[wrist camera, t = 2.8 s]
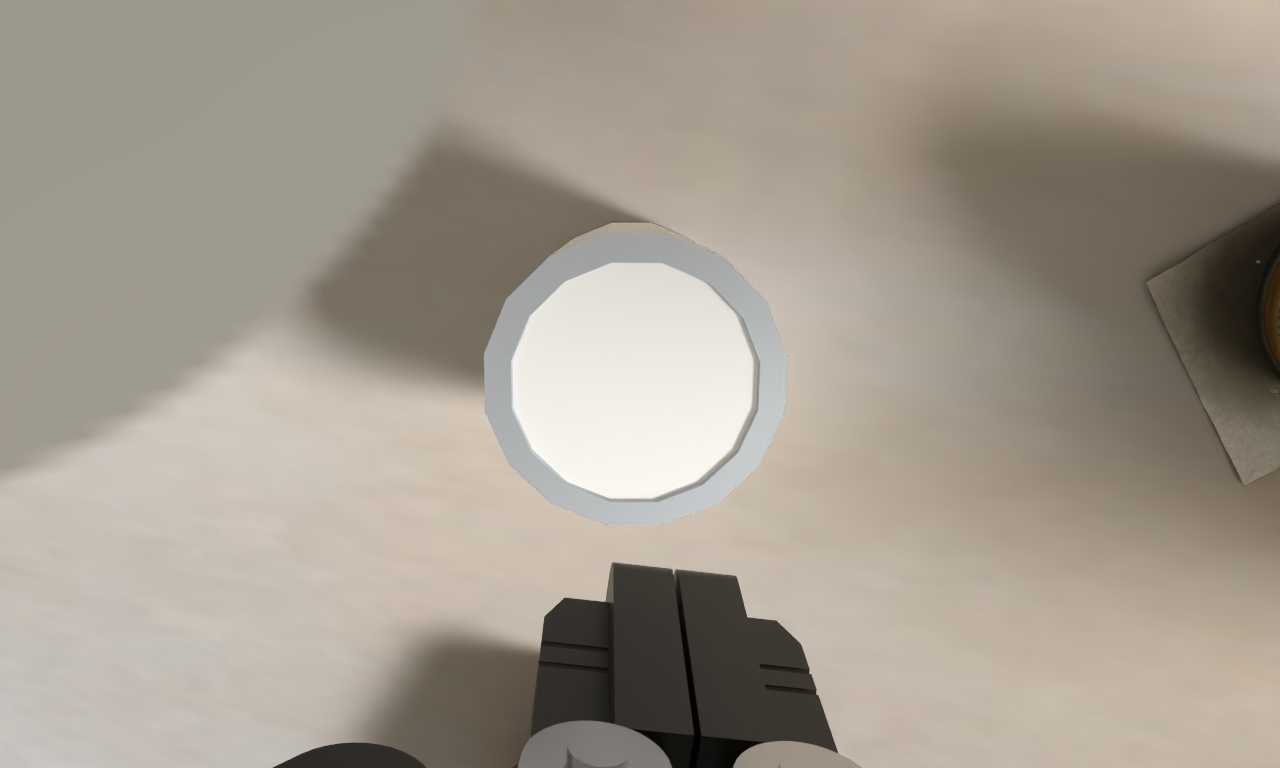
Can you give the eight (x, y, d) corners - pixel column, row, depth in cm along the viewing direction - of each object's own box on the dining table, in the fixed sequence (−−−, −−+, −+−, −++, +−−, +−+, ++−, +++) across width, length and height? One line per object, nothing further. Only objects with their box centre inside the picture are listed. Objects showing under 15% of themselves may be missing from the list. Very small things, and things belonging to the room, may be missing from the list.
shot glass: (730, 177, 30) (764, 204, 24) (768, 412, 32) (809, 500, 25) (485, 223, 31) (449, 264, 24) (537, 455, 32) (517, 553, 26)
